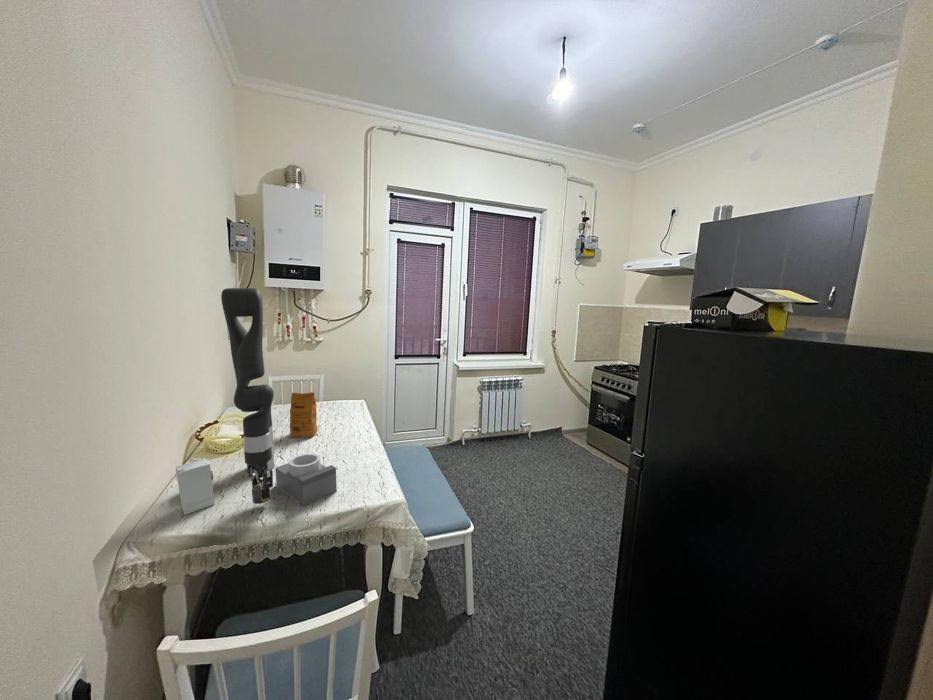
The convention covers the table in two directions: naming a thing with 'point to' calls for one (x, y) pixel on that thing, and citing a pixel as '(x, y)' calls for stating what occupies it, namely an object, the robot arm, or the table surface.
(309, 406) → the coffee package
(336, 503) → the table surface
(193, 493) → the skincare box
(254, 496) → the grey dome
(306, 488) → the camera body
